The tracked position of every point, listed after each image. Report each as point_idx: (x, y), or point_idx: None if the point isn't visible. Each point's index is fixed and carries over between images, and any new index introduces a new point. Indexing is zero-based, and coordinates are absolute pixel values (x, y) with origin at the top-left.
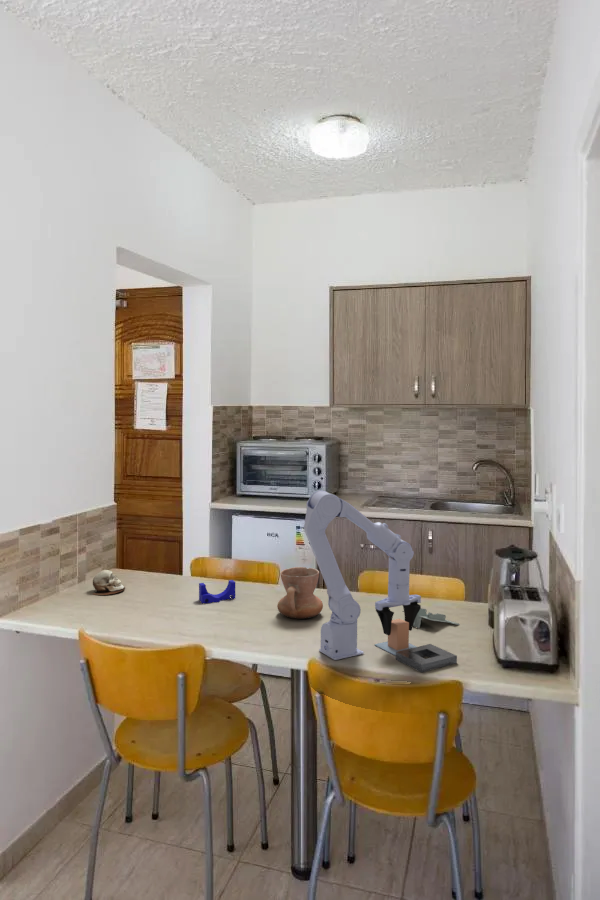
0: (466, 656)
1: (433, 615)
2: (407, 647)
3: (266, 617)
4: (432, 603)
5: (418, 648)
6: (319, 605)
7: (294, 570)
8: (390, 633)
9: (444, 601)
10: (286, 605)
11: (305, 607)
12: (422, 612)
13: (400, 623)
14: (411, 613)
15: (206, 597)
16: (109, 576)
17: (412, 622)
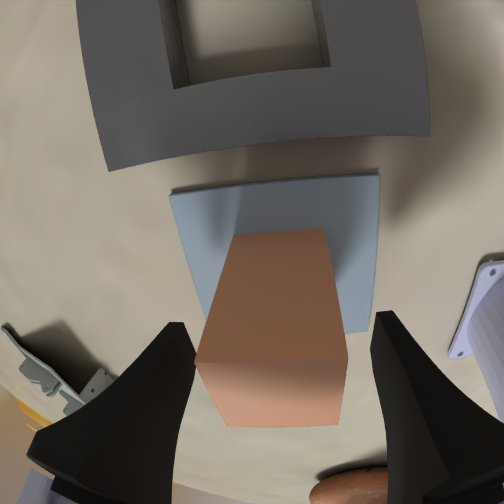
0: (19, 56)
1: (41, 381)
2: (241, 235)
3: None
4: (55, 417)
5: (231, 116)
6: (340, 494)
7: None
8: (379, 318)
9: (35, 408)
10: None
11: (382, 489)
12: (74, 410)
13: (290, 375)
14: (132, 432)
15: None
16: None
17: (148, 362)
